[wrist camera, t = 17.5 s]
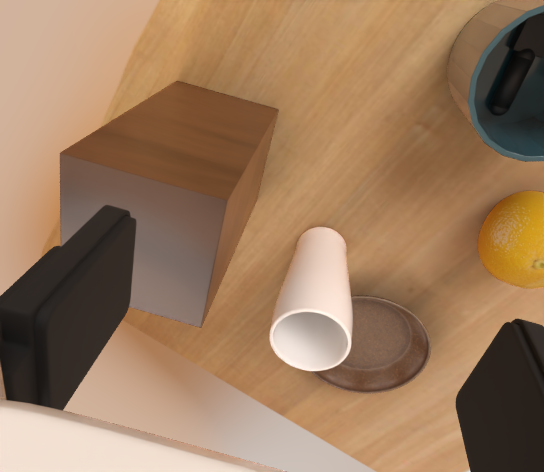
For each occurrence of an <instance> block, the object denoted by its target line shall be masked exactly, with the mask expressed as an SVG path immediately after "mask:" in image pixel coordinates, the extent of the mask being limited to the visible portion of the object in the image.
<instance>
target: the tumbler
mask: <svg viewBox="0 0 544 472" xmlns="http://www.w3.org/2000/svg"><path fill="white" fill-rule="evenodd" d="M537 14H542V15H544V0H497V1H495V2H493V3H491V4H490V5H488V6H487V7H485V8H484V9H482V10H481V11H480V12H479V13H477V14H476V15H475V16H474V17H473V18H472V19H471V20H470V21H469V22H468V23H467V24H466V26H465V27H464V28H463V29H462V31H461V32H460V34H459V36H458V37H457V39H456V41H455V43H454V45H453V47H452V50H451V53H450V56H449V61H448V68H447V79H448V85H449V89H450V92H451V95H452V98H453V100H454V101H455V103H456V104H457V106H458V107H459V109H460V110H461V112H462V113H463V114H464V116H465V117H466V118H467V120H468V121H469V122H470V124H471V125H472V127H473V128H474V129H475V131H476V132H477V133H478V135H479V136H480V137H481V139H482V140H483V142H484V143H485V144H487V145H488V146H490V147H491V148H493V149H494V150H495V151H497V152H498V153H500V154H501V155H503V156H506V157H510V158H513V159H517V160H521V161H525V162H528V161H544V55H543V57H542V58H540V57H537V56H535V59H534V61H533V63H532V65H531V67H530V69H529V71H528V73H527V75H526V77H525V79H524V81H523V83H522V85H521V87H520V89H519V91H518V93H517V95H516V97H515V99H514V101H513V102H512V104H511V106H510V108H509V110H508V111H507V113H505V114H504V115H501V116H496V115H493V114H492V113H491V112H490V110H489V104H490V102H491V100H492V98H493V95H494V93H495V91H496V89H497V87H498V85H499V83H500V81H501V79H502V77H503V75H504V73H505V71H506V69H507V67H508V64H509V62H510V60H511V58H512V56H513V54H514V52H515V50H512V49H510V48H509V45H510V43H511V41H512V39H513V37H514V35H515V33H516V31H517V29H518V27H519V24H520V23H522V22H523V21H525V20H526V19H527V18H529V17H532V16H534V15H537Z"/></svg>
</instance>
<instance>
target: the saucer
mask: <svg viewBox="0 0 544 472" xmlns="http://www.w3.org/2000/svg"><path fill="white" fill-rule="evenodd" d="M351 298H352V308H353V331H352V344H351V349H350V352H349V354H348V356H347V357H346V358H345V360H344V361H343V362H341V363H340V364H339V365H337V366H335V367H333V368H330V369H327V370H322V371H311V372H312V373H313V374H314V375H316V376H317V377H318V378H319V379H321V380H322V381H324V382H326V383H327V384H329V385H331V386H334V387H336V388H339V389H342V390H346V391H350V392H355V393H381V392H387V391H390V390H394V389H397V388H400V387H402V386H404V385H406V384H408V383H409V382H411V381H412V380H414V379H415V378H416V377H417V376H418V375H419V374H420V373H421V372H422V371H423V369H424V368H425V366H426V365H427V363H428V360H429V357H430V352H431V342H430V337H429V334H428V332H427V330H426V328H425V326H424V325H423V323H422V322H421V321H420V320H419V319H418V318H417V317H416V316H415V315H414V314H413V313H412V312H410V311H409V310H407V309H406V308H404V307H402V306H401V305H399V304H397V303H395V302H392V301H390V300H387V299H384V298H379V297H374V296H351Z"/></svg>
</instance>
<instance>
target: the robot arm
mask: <svg viewBox="0 0 544 472" xmlns="http://www.w3.org/2000/svg"><path fill="white" fill-rule="evenodd" d="M135 236H136V219H135V218H132V217H131V215H130V212H129V211H128V210H125V209H121V208H118V207H114V206H110V205H105V206H103V207H102V208H101V209H100V210H99V211H98V212H97V213H96V214H95V215H94V216H93V217H92V218H91V219H90V220H89V221H87V222H86V223H85V224H84V225H83V226H82V227H81V228H80V229H79V230H78V231H77V232H76V233H75V234H74V235H73V236H72V237H71V238H70V239H69V240H68V241H67V242H66V243H65V244H64V245H62V246H55V247H53V248H52V249H51V250H49V251H48V252H47V253H46V254H45V255H44V256H43V257H42V258H41V259H40V260H39V261H38V262H36V263H35V264H34V265H33V266H32V267H31V268H30V269H29V270H28V271H27V272H26V273H25V274H24V275H23V276H22V277H20V278H19V279H18V280H17V281H16V282H15V283H14V284H13V285H12V286H11V287H10V288H9V289H8V290H6V292H4V293H3V294H2V295H1V296H0V472H286V471H283V470H279V469H275V468H272V467H268V466H265V465H261V464H258V463H254V462H251V461H247V460H244V459H240V458H236V457H233V456H229V455H226V454H222V453H219V452H215V451H211V450H208V449H204V448H201V447H197V446H194V445H190V444H186V443H183V442H179V441H176V440H172V439H169V438H165V437H161V436H158V435H154V434H151V433H147V432H143V431H140V430H136V429H132V428H129V427H125V426H120V425H117V424H113V423H109V422H106V421H101V420H98V419H94V418H90V417H86V416H82V415H79V414H75V413H71V412H67V411H63V409H64V408H65V406H66V405H67V403H68V401H69V400H70V398H71V397H72V395H73V394H74V392H75V391H76V389H77V388H78V386H79V384H80V383H81V382H82V380H83V379H84V377H85V375H86V374H87V372H88V371H89V369H90V368H91V366H92V365H93V363H94V362H95V360H96V359H97V357H98V355H99V354H100V353H101V351H102V349H103V348H104V346H105V345H106V343H107V342H108V340H109V339H110V337H111V336H112V334H113V333H114V331H115V330H116V328H117V327H118V325H119V324H120V322H121V321H122V319H123V318H124V316H125V314H126V313H127V310H128V308H129V305H130V299H131V287H132V274H133V262H134V249H135ZM456 410H457V414H458V419H459V423H460V427H461V432H462V436H463V440H464V445H465V449H466V454H467V458H468V462H469V467H470V471H471V472H544V327H543V326H542V325H539V324H536V323H532V322H529V321H525V320H521V319H515V320H513V321H512V322H511V323H510V322H506V323H505V324H504V325H503V326H502V327H501V329H500V330H499V332H498V333H497V335H496V336H495V338H494V340H493V341H492V343H491V344H490V346H489V347H488V349H487V350H486V352H485V353H484V355H483V356H482V358H481V359H480V361H479V362H478V364H477V365H476V367H475V368H474V370H473V371H472V373H471V374H470V376H469V377H468V379H467V380H466V382H465V383H464V385H463V386H462V388H461V389H460V391H459V392H458V394H457V397H456Z"/></svg>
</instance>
